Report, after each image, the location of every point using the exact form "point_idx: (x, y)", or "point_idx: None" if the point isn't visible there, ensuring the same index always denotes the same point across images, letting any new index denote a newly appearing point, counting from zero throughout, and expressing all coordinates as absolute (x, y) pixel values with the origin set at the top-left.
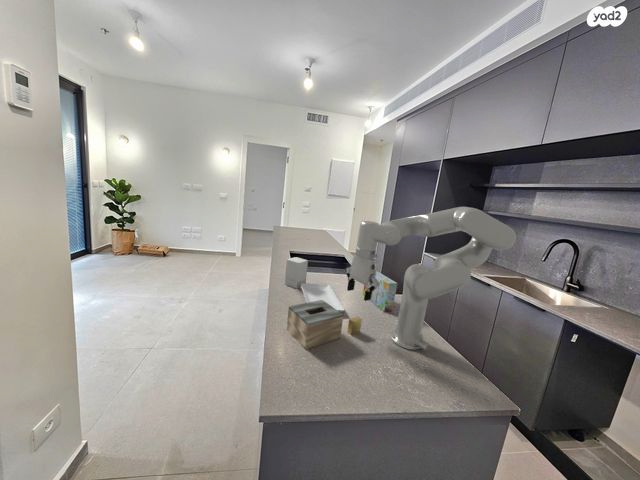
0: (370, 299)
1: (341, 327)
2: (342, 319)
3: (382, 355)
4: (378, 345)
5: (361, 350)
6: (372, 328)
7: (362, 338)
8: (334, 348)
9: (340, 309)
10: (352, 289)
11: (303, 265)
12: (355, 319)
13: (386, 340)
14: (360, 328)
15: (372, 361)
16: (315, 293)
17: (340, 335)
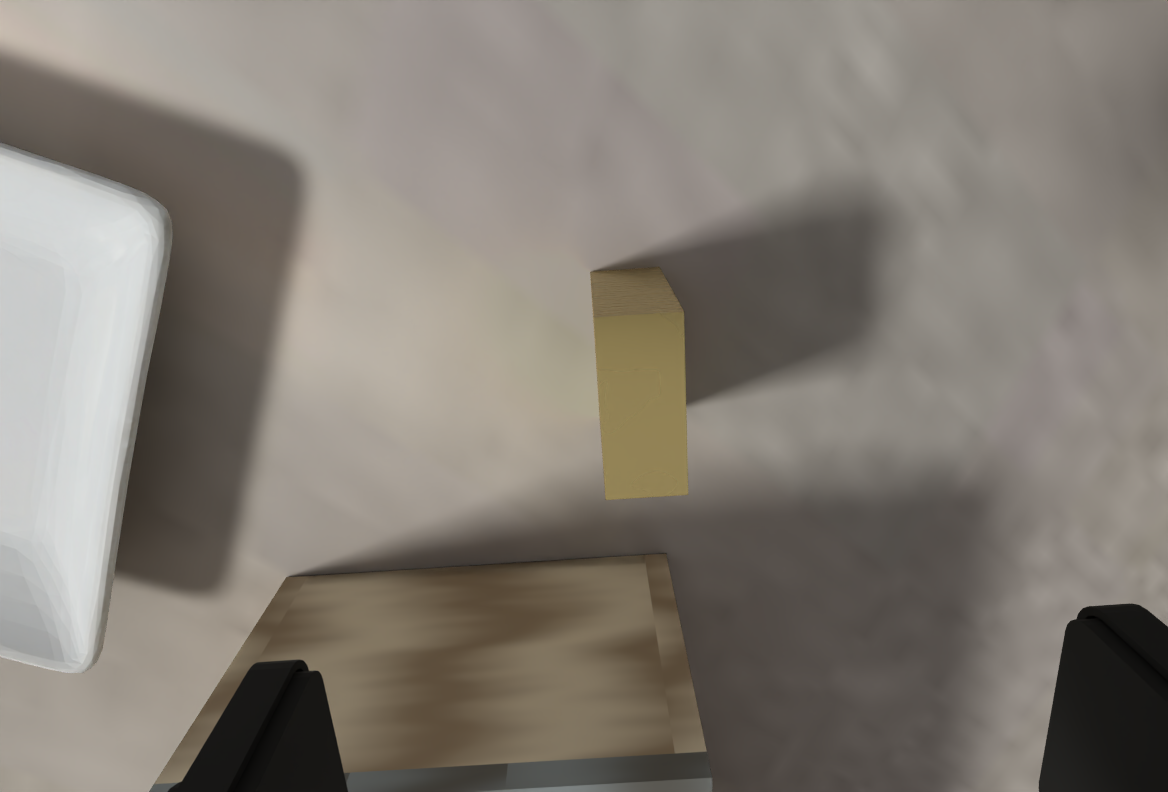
0: (1126, 605)
1: (683, 640)
2: (700, 724)
3: (1118, 332)
4: (976, 239)
5: (932, 480)
6: (651, 9)
7: (776, 326)
8: (775, 681)
9: (86, 219)
10: (323, 729)
11: None
12: (653, 423)
13: (965, 43)
14: (665, 280)
15: (1109, 491)
16: None
17: (669, 573)
